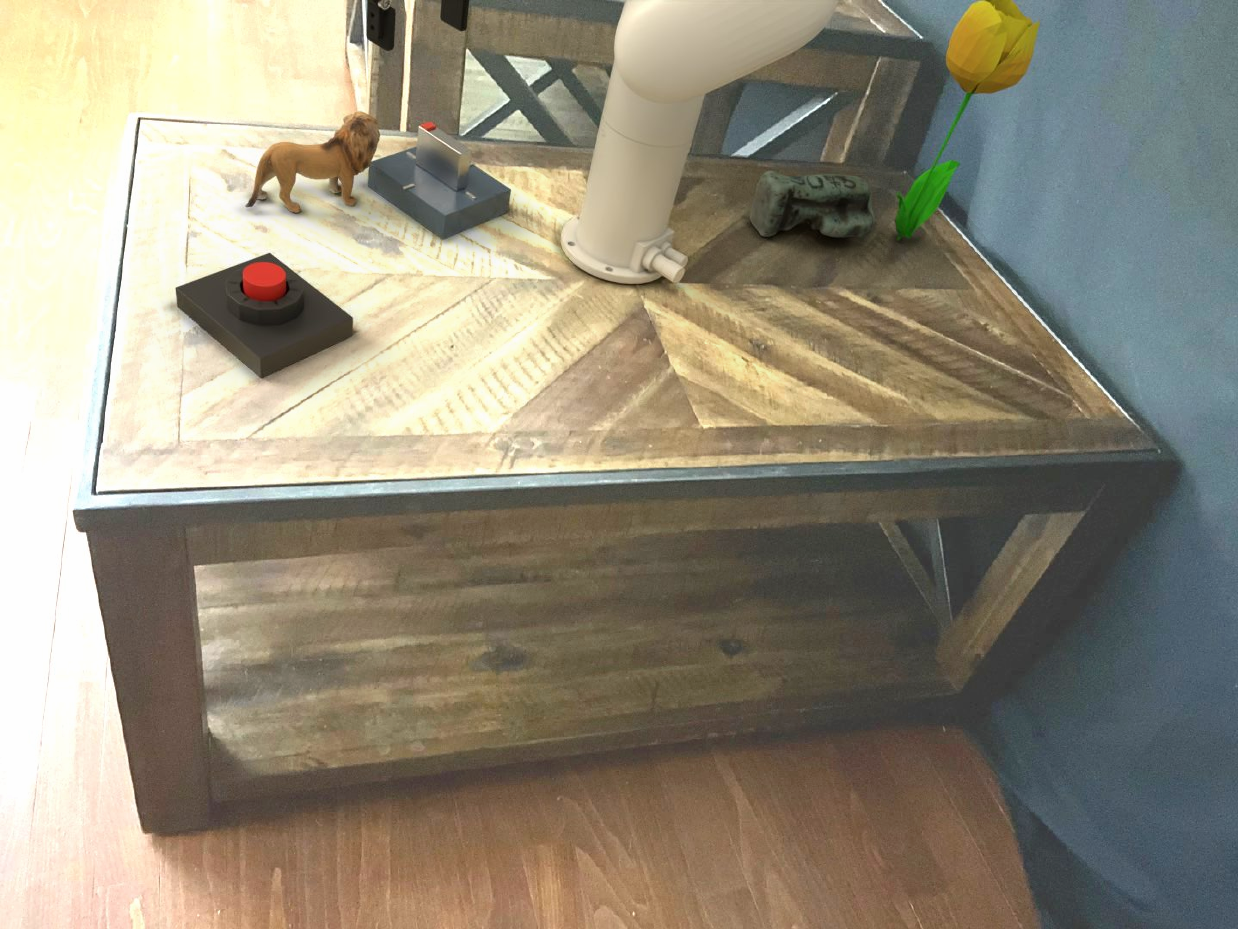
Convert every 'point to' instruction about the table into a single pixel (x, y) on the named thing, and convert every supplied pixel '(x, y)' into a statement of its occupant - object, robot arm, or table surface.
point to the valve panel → (437, 194)
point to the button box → (264, 318)
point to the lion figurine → (320, 160)
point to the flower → (972, 88)
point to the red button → (264, 281)
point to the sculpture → (813, 204)
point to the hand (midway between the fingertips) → (417, 34)
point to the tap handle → (442, 156)
